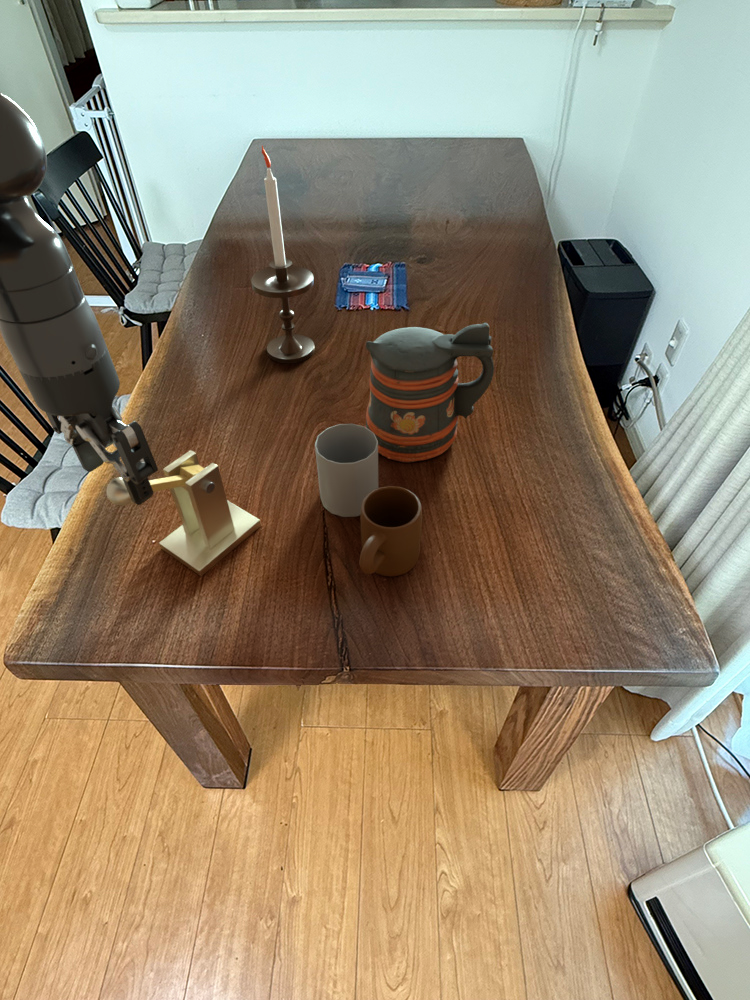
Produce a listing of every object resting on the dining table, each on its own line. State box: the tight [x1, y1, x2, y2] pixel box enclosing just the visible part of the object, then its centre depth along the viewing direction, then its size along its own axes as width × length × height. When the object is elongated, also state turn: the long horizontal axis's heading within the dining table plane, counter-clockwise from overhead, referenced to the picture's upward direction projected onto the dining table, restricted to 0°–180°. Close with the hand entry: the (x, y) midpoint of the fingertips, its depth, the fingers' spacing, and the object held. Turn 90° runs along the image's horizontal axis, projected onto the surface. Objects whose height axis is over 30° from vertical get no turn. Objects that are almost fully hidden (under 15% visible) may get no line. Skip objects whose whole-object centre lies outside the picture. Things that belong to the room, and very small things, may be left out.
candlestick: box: [250, 145, 316, 364], centre depth 102 cm, size 11×11×35 cm
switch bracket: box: [158, 449, 262, 577], centre depth 77 cm, size 11×8×13 cm
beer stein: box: [364, 322, 495, 463], centre depth 90 cm, size 19×15×20 cm
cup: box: [314, 423, 379, 518], centre depth 83 cm, size 8×8×10 cm
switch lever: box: [106, 464, 206, 507], centre depth 69 cm, size 13×3×3 cm, turn 143°
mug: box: [359, 485, 423, 577], centre depth 74 cm, size 12×8×9 cm, turn 156°
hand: (118, 482), depth 64 cm, fingers open, 8 cm apart
